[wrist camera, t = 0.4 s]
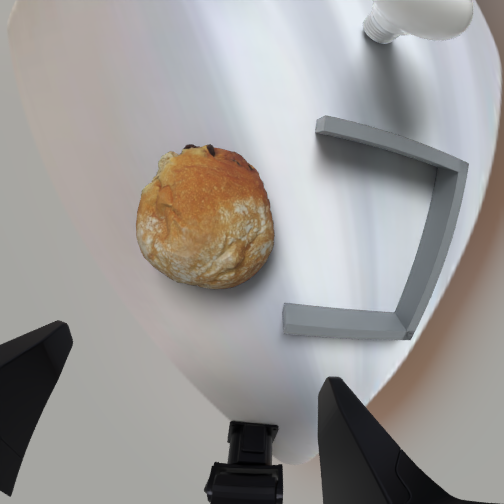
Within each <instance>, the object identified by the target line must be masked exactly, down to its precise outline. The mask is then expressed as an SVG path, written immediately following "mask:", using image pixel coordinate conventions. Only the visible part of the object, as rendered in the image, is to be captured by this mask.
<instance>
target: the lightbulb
mask: <svg viewBox="0 0 504 504" xmlns="http://www.w3.org/2000/svg"><path fill="white" fill-rule="evenodd" d="M372 1H373V5H372V12H371V13H370V14H369V15H368V16H367V18H366V19H365V20H364V22H363V28H364V31H365V32H366V34H367V35H368V36H369V37H370V38H371V39H373V40H374V41H376V42H378V43H381V44H388V43H390V42H392V41H393V40H395V39H396V38H397V37H399V36H400V35H413V36H415V37H418V38H422V39H426V40H433V41H444V40H450V39H453V38H456V37H458V36H460V35H461V34H462V33H464V32H465V31H466V30H467V28H468V27H469V25H470V23H471V21H472V18H473V3H472V0H372Z"/></svg>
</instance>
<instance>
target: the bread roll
mask: <svg viewBox="0 0 504 504" xmlns="http://www.w3.org/2000/svg"><path fill="white" fill-rule="evenodd" d="M158 168H159V170H158V172H157V175H156V176H155V177H154V178H153V180H152V183H150V184H148V185H147V186H146V187H145V188H144V189H143V190H142V194H141V200H140V204H139V207H138V211H137V221H136V236H137V240H138V244H139V247H140V250H141V252H142V254H143V256H144V258H145V259H146V260H147V261H148V262H150V263H151V265H152V266H153V267H155V268H156V269H157V270H159V271H160V272H162V273H163V274H165V275H166V276H167V277H169V278H171V279H172V280H175V281H176V282H179V283H185V284H188V285H198V286H199V287H204V288H209V289H225V288H231V287H234V286H237V285H239V284H241V283H244V282H245V281H247V280H248V279H250V278H251V277H253V276H254V275H255V274H256V273H257V272H258V271H259V270H260V269H261V267H262V266H263V265H264V264H265V263H266V261H267V259H268V257H269V255H270V253H271V251H272V248H273V245H274V242H273V241H274V229H273V228H274V227H273V224H274V223H273V220H272V214H271V211H270V202H269V199H268V198H267V192H266V191H265V189H264V185H263V182H262V180H261V179H260V177H259V173H258V172H257V170H256V169H255V168H254V167H253V166H252V165H250V164H249V163H247V161H246V160H245V159H244V158H243V157H242V156H241V155H239V154H237V153H236V152H231V151H227V150H223V149H219V148H213V146H212V145H211V144H210V145H205V146H203V147H200V146H199V147H196V146H194V145H192V144H190V145H186V147H185V148H184V149H183V151H182V153H181V154H180V155H178V154H177V153H175V152H172V151H170V152H168V153H167V154H165V155H163V156H162V157H161V159H160V161H159V162H158Z"/></svg>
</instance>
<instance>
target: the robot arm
mask: <svg viewBox="0 0 504 504" xmlns="http://www.w3.org/2000/svg"><path fill="white" fill-rule="evenodd" d="M72 345H73V339H72V336H71V333H70V329H69V326H68V325H67V323H65V322H62V321H59V320H57V321H55V322H52V323H50V324H48V325H45V326H43V327H41V328H38V329H36V330H34V331H31V332H29V333H27V334H24V335H22V336H20V337H17V338H15V339H13V340H11V341H8V342H6V343H3V344H1V345H0V491H2V492H4V493H5V494H7V495H8V496H11V495H12V492H13V488H14V485H15V482H16V478H17V475H18V472H19V469H20V466H21V463H22V461H23V457H24V455H25V452H26V449H27V447H28V444H29V442H30V439H31V436H32V434H33V432H34V430H35V427H36V425H37V423H38V420H39V418H40V416H41V414H42V411H43V409H44V407H45V405H46V403H47V401H48V399H49V397H50V395H51V393H52V391H53V389H54V387H55V385H56V383H57V381H58V379H59V376H60V374H61V372H62V369H63V367H64V364H65V362H66V360H67V357H68V355H69V352H70V350H71V348H72ZM277 432H278V426H277V425H264V424H253V423H244V422H235V421H231V422H230V426H229V433H228V441H227V442H228V443H230V449H229V456H228V464H225V463H219V462H215V463H214V466H212V468H211V473H210V477H209V479H208V482H207V484H206V486H205V488H204V492H205V493H207V497H208V501H209V502H211V503H210V504H282V503H283V471H282V470H283V469H282V464H279V465H272V443H273V441H274V439H275V436H276V434H277ZM318 445H319V456H320V466H321V478H322V491H323V504H498V503H484V502H474V501H466V500H461V499H458V498H455V497H453V496H451V495H449V494H448V493H447V492H446V491H444V490H443V489H442V488H441V487H440V486H439V485H437V484H436V483H435V482H434V481H433V480H432V479H431V478H429V477H428V476H427V475H426V474H425V473H424V472H423V471H422V470H421V469H419V467H418V466H416V464H415V463H414V462H413V461H412V460H411V459H410V458H409V457H408V456H407V455H406V453H405V452H404V451H403V450H402V449H401V448H400V447H399V446H398V444H397V443H396V442H395V441H394V440H393V439H392V437H391V436H390V435H389V434H388V433H387V432H386V430H385V429H384V428H383V427H382V426H381V425H380V424H379V422H378V421H377V420H376V419H375V418H374V417H373V415H372V414H371V413H370V412H369V411H368V410H367V408H366V407H365V406H364V405H363V404H362V402H361V401H360V400H359V399H358V398H357V397H356V395H355V394H354V393H353V392H352V391H351V389H350V388H349V387H348V386H347V385H346V384H345V382H344V381H343V380H342V379H341V378H340V377H327V378H326V380H325V382H324V384H323V386H322V388H321V390H320V392H319V396H318ZM400 449H401V450H400Z"/></svg>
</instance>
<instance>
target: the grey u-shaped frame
mask: <svg viewBox="0 0 504 504" xmlns="http://www.w3.org/2000/svg"><path fill="white" fill-rule="evenodd" d="M315 133H319V134H324V135H329V136H333V137H338V138H342V139H347V140H351V141H355V142H359V143H363V144H367V145H370V146H374V147H378V148H381V149H385V150H388V151H391V152H395V153H398V154H401V155H404V156H407V157H410V158H413V159H416V160H419V161H422V162H425V163H428V164H431V165H433V166H436V167H438V170H437V175H436V181H435V186H434V190H433V195H432V200H431V204H430V208H429V212H428V216H427V220H426V224H425V228H424V231H423V235H422V238H421V242H420V245H419V248H418V251H417V254H416V258H415V261H414V264H413V266H412V269H411V272H410V275H409V278H408V281H407V283H406V286H405V289H404V291H403V294H402V296H401V299H400V301H399V304H398V306H397V309H396V311H395V313H392V312H377V311H364V310H351V309H340V308H329V307H319V306H309V305H300V304H291V303H284V308H283V312H282V313H283V327H284V334H292V335H303V336H315V337H329V338H346V339H370V340H411V338H412V336H413V334H414V332H415V330H416V328H417V326H418V324H419V322H420V320H421V318H422V316H423V313H424V311H425V309H426V307H427V305H428V302H429V300H430V298H431V295H432V293H433V290H434V288H435V286H436V283H437V280H438V278H439V275H440V273H441V270H442V267H443V264H444V261H445V258H446V256H447V253H448V249H449V246H450V243H451V240H452V237H453V233H454V230H455V226H456V222H457V219H458V215H459V211H460V207H461V202H462V198H463V193H464V188H465V183H466V178H467V172H468V166H469V163H467V162H465V161H463V160H460V159H458V158H456V157H454V156H451V155H449V154H447V153H444V152H442V151H440V150H437V149H435V148H432V147H430V146H427V145H425V144H422V143H419V142H417V141H414V140H411V139H408V138H405V137H403V136H400V135H397V134H393V133H390V132H387V131H384V130H381V129H377V128H374V127H370V126H367V125H363V124H360V123H356V122H352V121H348V120H344V119H340V118H335V117H331V116H326V115H325V116H323V117H321V118H319V119H317V123H316V130H315Z"/></svg>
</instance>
